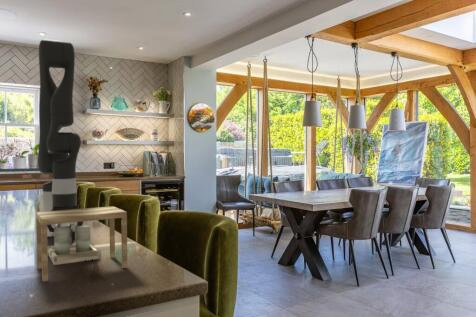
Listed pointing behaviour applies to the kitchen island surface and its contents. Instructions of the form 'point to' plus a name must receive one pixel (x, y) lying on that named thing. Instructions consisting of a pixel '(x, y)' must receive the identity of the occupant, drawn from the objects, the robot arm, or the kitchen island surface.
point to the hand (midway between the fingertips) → (65, 242)
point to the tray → (71, 246)
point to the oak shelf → (78, 216)
